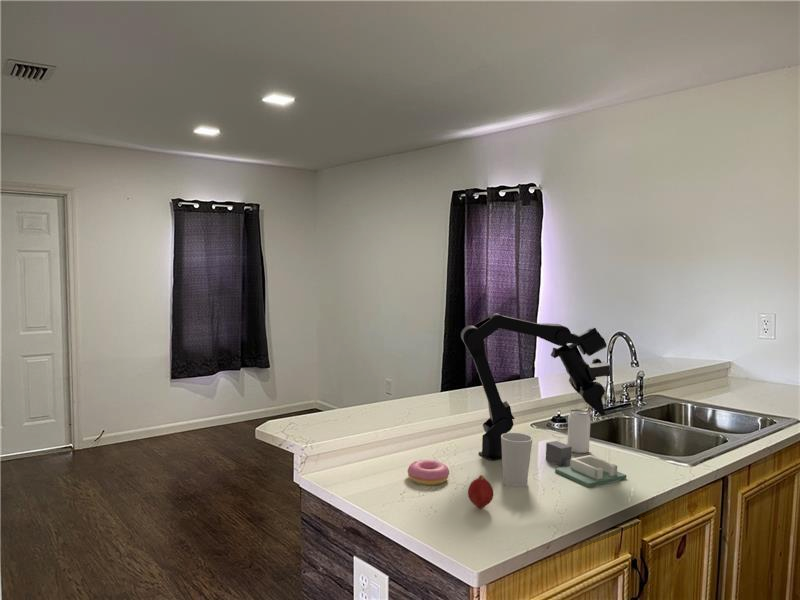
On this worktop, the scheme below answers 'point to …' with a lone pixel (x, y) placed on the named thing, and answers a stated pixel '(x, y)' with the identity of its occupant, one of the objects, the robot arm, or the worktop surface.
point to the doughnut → (428, 472)
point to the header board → (591, 471)
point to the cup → (515, 458)
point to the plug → (558, 453)
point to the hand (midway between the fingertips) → (599, 410)
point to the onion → (480, 492)
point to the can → (579, 431)
